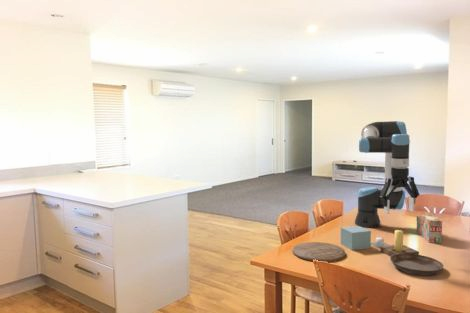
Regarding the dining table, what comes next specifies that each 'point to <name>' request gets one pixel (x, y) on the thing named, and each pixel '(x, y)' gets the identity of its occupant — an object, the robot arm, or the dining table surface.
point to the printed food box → (430, 228)
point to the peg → (398, 241)
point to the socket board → (390, 251)
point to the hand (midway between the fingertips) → (399, 212)
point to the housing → (355, 237)
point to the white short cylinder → (379, 243)
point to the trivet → (319, 251)
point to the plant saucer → (416, 264)
